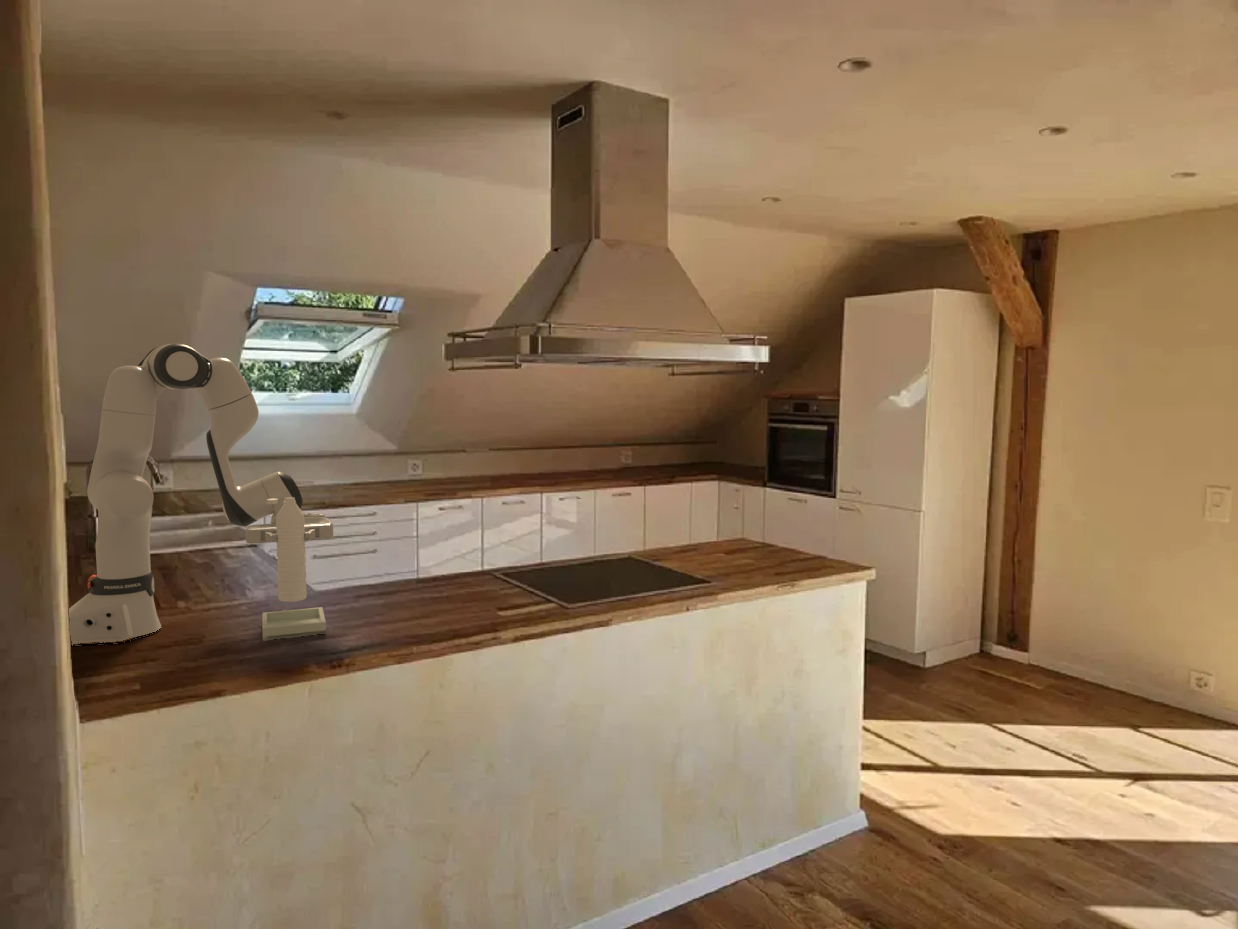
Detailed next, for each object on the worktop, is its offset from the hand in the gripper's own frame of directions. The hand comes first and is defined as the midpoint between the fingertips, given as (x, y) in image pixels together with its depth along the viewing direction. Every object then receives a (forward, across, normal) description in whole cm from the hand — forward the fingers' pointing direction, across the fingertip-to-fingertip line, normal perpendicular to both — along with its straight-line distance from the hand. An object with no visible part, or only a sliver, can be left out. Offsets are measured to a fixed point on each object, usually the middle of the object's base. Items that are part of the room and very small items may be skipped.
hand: (291, 537), depth 202 cm
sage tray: (-1, 0, +23) cm, 23 cm away
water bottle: (-1, -1, +16) cm, 16 cm away
